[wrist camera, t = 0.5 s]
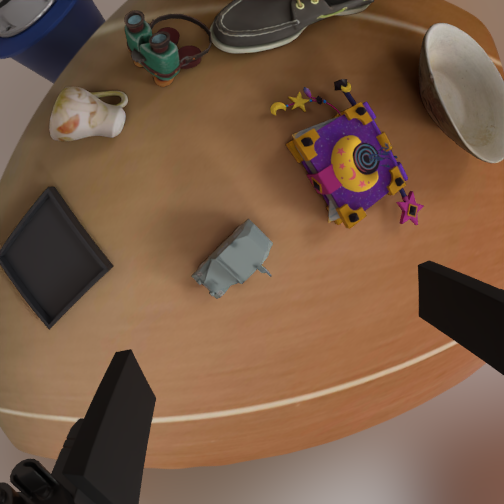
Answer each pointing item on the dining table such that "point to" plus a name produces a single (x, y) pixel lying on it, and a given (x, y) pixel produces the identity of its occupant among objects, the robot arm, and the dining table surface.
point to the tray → (52, 258)
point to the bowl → (463, 91)
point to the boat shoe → (272, 21)
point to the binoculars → (161, 47)
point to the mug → (86, 115)
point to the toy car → (234, 259)
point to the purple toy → (349, 161)
